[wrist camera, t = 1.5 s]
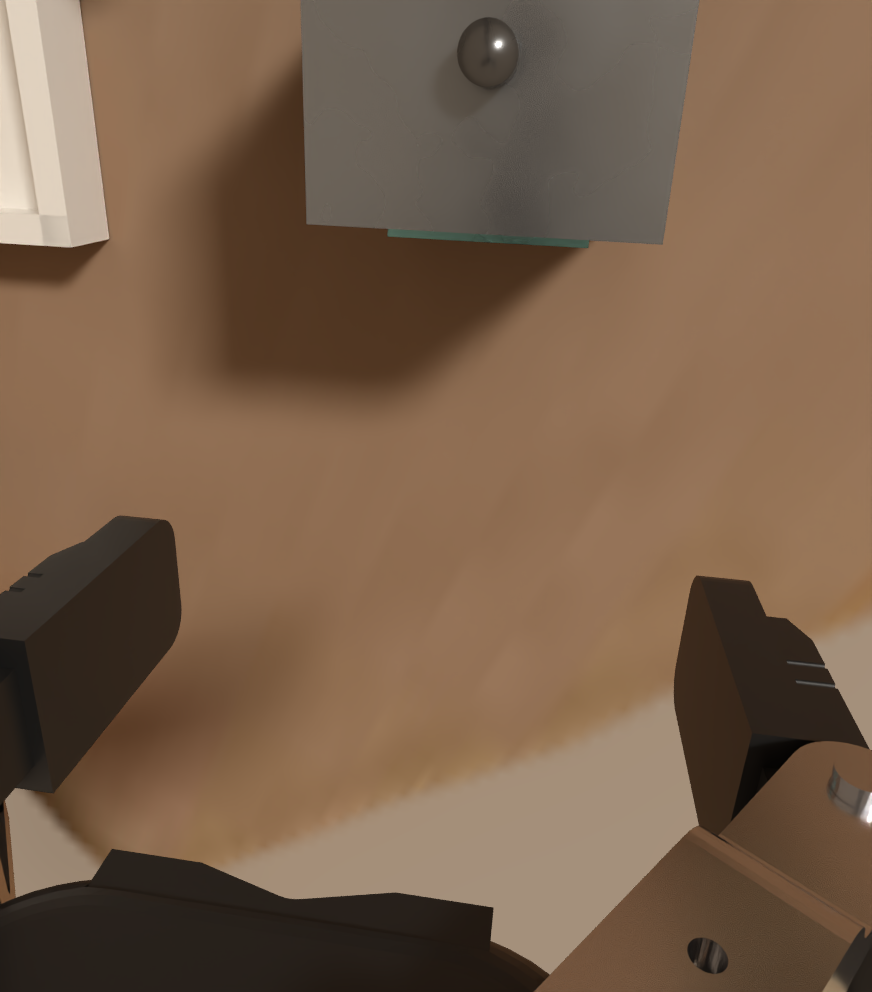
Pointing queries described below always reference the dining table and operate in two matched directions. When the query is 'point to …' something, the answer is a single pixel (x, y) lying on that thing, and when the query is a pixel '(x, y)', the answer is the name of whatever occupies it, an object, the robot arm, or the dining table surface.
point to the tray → (47, 128)
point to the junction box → (495, 117)
